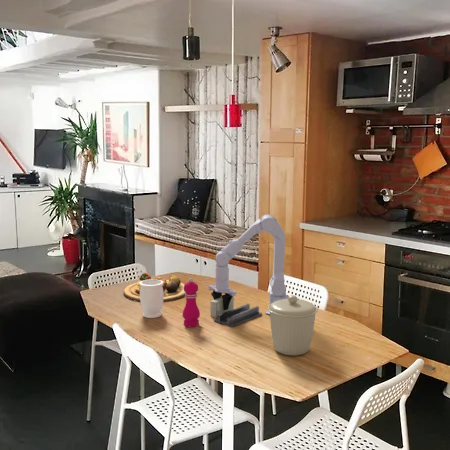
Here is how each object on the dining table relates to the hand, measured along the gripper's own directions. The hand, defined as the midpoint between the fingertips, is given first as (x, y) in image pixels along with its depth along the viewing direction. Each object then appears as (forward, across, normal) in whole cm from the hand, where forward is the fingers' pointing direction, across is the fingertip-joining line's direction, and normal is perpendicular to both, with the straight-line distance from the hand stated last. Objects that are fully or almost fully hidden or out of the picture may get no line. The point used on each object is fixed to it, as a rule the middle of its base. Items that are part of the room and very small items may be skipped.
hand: (222, 308), depth 247 cm
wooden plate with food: (+3, -46, +2) cm, 46 cm away
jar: (+2, -22, -22) cm, 31 cm away
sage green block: (+2, 0, 0) cm, 2 cm away
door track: (+2, +10, 0) cm, 10 cm away
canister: (+2, +46, -14) cm, 49 cm away
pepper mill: (+2, 0, -19) cm, 19 cm away
